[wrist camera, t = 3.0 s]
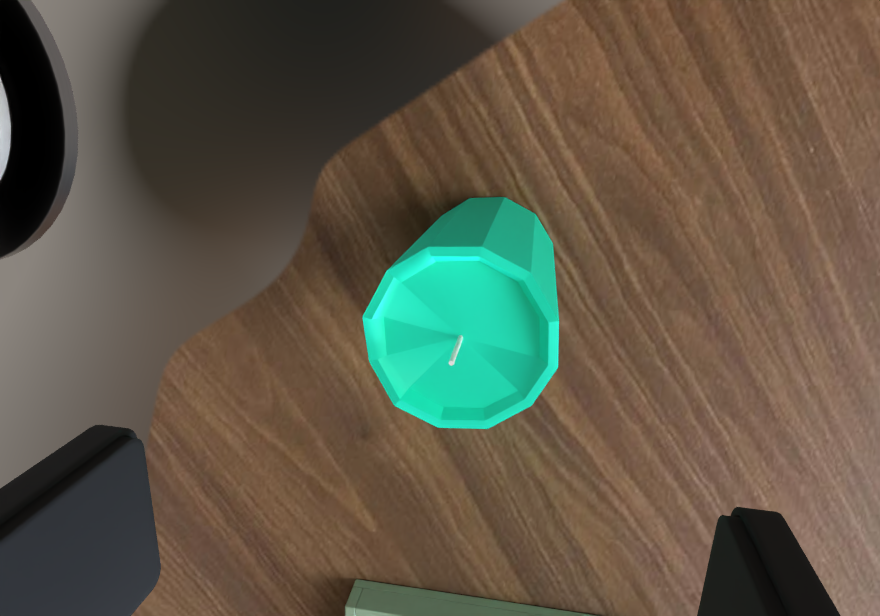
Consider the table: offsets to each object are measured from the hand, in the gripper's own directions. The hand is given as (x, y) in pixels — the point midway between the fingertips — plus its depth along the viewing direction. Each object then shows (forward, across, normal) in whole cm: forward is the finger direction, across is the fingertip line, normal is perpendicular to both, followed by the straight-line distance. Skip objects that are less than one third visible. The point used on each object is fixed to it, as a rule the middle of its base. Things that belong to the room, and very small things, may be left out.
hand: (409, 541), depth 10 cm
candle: (+19, +1, 0) cm, 19 cm away
